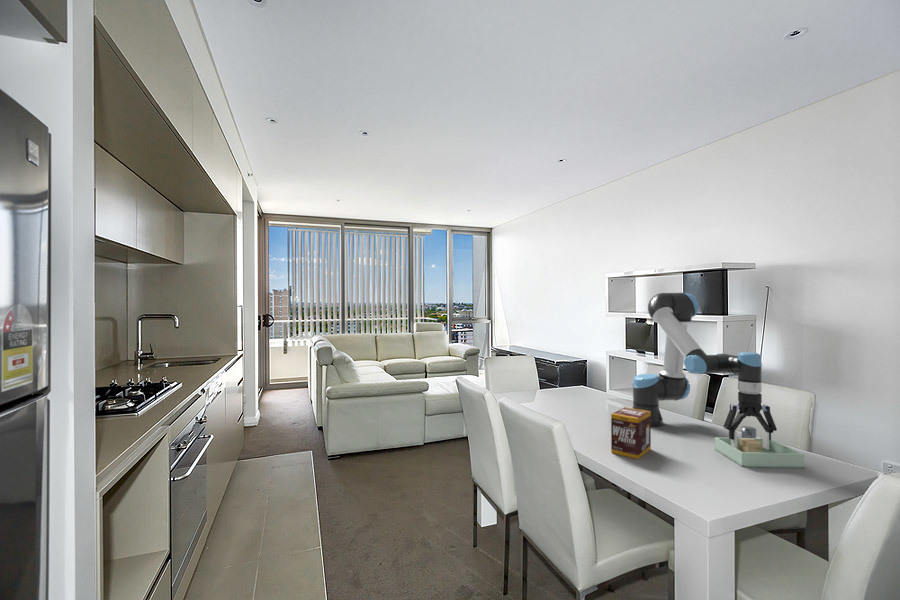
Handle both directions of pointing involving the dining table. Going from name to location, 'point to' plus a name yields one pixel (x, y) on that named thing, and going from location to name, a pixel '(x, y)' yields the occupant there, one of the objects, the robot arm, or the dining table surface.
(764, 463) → the tote
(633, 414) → the supplement box
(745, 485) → the dining table surface
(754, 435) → the grey tin
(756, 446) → the oak cube
